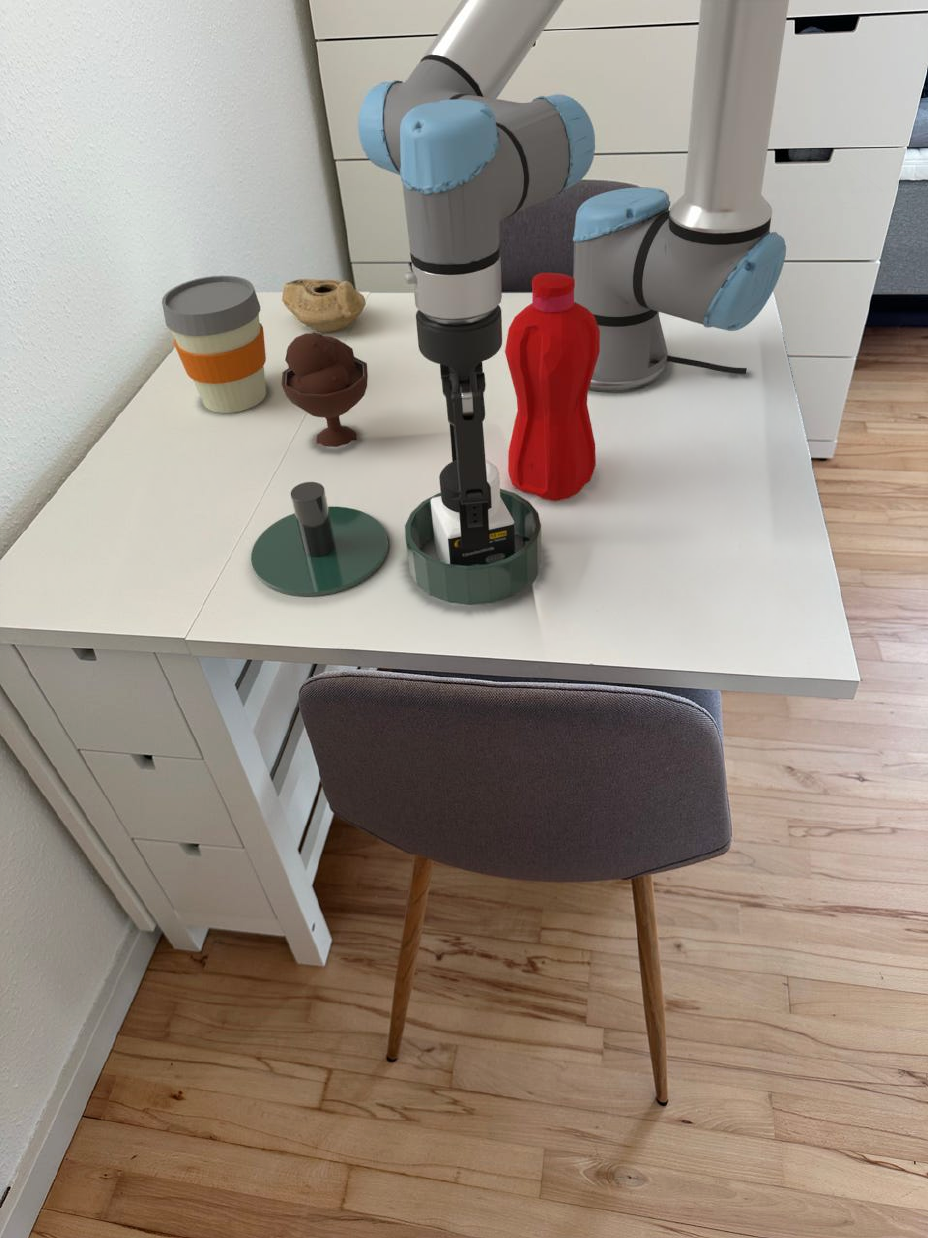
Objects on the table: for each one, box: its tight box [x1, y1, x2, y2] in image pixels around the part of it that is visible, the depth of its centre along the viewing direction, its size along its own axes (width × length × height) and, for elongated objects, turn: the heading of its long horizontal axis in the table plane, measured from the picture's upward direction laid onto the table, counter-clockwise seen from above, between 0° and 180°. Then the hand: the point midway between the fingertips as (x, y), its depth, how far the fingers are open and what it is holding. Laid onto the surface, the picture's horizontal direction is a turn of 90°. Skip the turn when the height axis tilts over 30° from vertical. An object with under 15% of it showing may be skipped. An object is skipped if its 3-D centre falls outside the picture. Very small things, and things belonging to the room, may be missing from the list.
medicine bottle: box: [431, 459, 516, 566], centre depth 94 cm, size 7×7×12 cm
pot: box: [404, 488, 542, 606], centre depth 97 cm, size 14×14×5 cm
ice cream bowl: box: [281, 332, 369, 448], centre depth 113 cm, size 11×11×15 cm
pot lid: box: [250, 481, 389, 597], centre depth 98 cm, size 15×15×9 cm
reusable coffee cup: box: [161, 275, 267, 414], centre depth 123 cm, size 13×13×15 cm
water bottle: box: [504, 272, 600, 502], centre depth 101 cm, size 9×11×25 cm
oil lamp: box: [281, 278, 367, 333], centre depth 141 cm, size 11×15×8 cm
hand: (470, 506), depth 93 cm, fingers open, 13 cm apart
